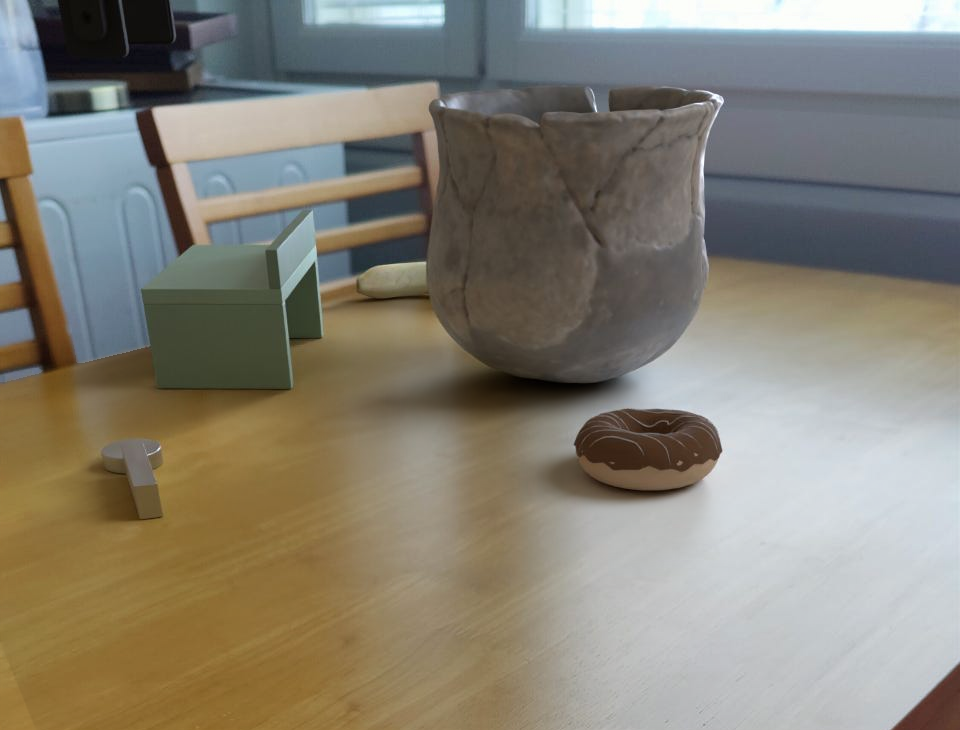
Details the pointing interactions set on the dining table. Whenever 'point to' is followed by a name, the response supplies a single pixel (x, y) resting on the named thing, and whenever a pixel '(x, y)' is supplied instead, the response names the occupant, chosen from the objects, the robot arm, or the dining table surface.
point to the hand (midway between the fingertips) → (125, 50)
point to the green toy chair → (235, 312)
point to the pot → (569, 226)
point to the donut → (648, 448)
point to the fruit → (393, 280)
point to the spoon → (137, 471)
